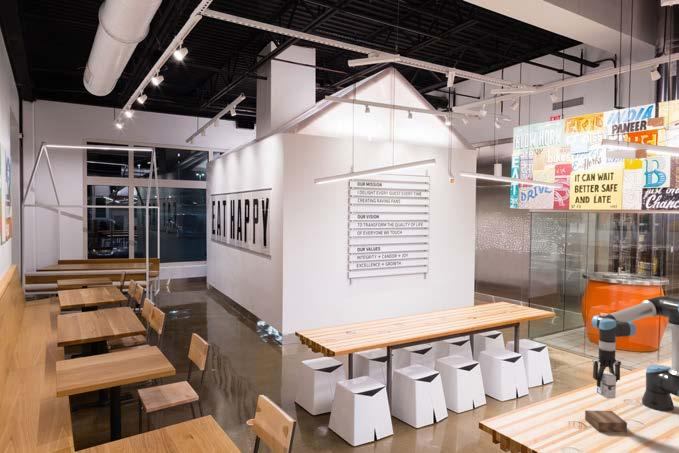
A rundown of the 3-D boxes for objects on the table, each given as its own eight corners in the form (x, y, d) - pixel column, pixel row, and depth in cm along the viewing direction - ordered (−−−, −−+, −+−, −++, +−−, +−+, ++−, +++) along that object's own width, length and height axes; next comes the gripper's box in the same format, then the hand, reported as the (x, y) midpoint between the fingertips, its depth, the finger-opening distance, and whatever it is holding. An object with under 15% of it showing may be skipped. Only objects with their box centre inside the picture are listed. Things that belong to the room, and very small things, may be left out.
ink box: (596, 392, 245) (596, 370, 244) (605, 392, 245) (605, 370, 245) (606, 398, 236) (607, 376, 236) (615, 398, 237) (616, 375, 236)
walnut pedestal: (611, 420, 248) (611, 410, 248) (626, 432, 234) (627, 422, 234) (585, 419, 249) (585, 410, 248) (598, 432, 235) (598, 422, 234)
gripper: (620, 347, 243) (619, 390, 244) (585, 346, 244) (584, 389, 245) (629, 351, 236) (628, 396, 237) (592, 350, 236) (591, 395, 237)
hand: (606, 392), depth 241 cm, fingers closed on ink box, 5 cm apart
